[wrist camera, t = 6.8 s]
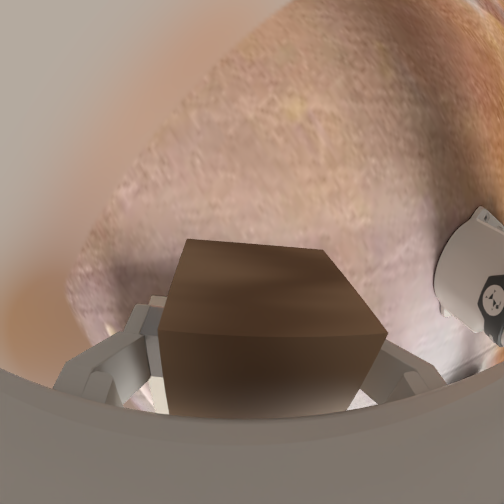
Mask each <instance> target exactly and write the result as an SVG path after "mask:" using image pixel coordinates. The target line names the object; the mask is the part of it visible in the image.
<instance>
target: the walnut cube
mask: <svg viewBox="0 0 504 504" xmlns="http://www.w3.org/2000/svg"><path fill="white" fill-rule="evenodd" d="M157 331H158V341H159V350H160V358H161V366H162V373H163V380H164V387H165V393H166V399H167V405H168V410H169V415H178V416H189V417H202V418H222V419H265V418H286V417H299V416H310V415H319V414H327V413H334V412H341V411H346V410H347V408H348V407H349V405H350V404H351V402H352V400H353V399H354V397H355V395H356V394H357V392H358V390H359V389H360V387H361V385H362V383H363V381H364V380H365V378H366V376H367V374H368V372H369V371H370V369H371V367H372V365H373V363H374V361H375V359H376V357H377V355H378V353H379V351H380V349H381V347H382V345H383V343H384V341H385V339H386V337H387V335H388V332H387V331H386V329H385V328H384V327H383V325H382V324H381V323H380V321H379V320H378V319H377V317H376V316H375V315H374V313H373V312H372V311H371V309H370V308H369V307H368V305H367V304H366V303H365V302H364V300H363V299H362V298H361V296H360V295H359V294H358V293H357V291H356V290H355V289H354V288H353V286H352V285H351V284H350V282H349V281H348V280H347V279H346V277H345V276H344V275H343V274H342V273H341V271H340V270H339V269H338V268H337V266H336V265H335V264H334V263H333V261H332V260H331V259H330V258H329V257H328V255H327V254H326V253H325V252H324V251H323V250H318V249H306V248H295V247H283V246H271V245H258V244H246V243H234V242H221V241H208V240H195V239H187V240H186V243H185V246H184V249H183V252H182V254H181V257H180V260H179V263H178V266H177V269H176V272H175V275H174V278H173V281H172V284H171V287H170V290H169V293H168V296H167V300H166V303H165V306H164V309H163V312H162V316H161V319H160V322H159V326H158V329H157Z"/></svg>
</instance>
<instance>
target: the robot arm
mask: <svg viewBox="0 0 504 504" xmlns="http://www.w3.org/2000/svg"><path fill="white" fill-rule="evenodd" d="M434 290H435V294H436V297H437V299H438V300H439V302H440V304H441V315H442V316H444V317H445V318H448V317H450V316H454V317H455V318H456V319H458V320H459V321H460V322H461V323H463V324H464V325H465V326H466V327H467V328H469V329H470V330H471V331H472V332H474V333H477V332H482V331H484V332H485V333H486V334H487V335H488V336H489V337H490V339H491V340H492V341H493V342H494V343H496V344H497V345H498V346H499V347H504V226H503V225H502V224H501V223H500V222H499V221H498V220H497V219H496V218H495V217H494V216H493V215H492V214H491V213H490V212H489V211H488V210H487V209H485V208H484V207H482V206H479V207H478V208H477V209H476V211H475V212H474V214H473V215H472V217H471V218H470V219H469V220H468V221H467V222H466V223H464V224H463V225H462V226H460V227H459V228H458V229H457V230H456V231H455V233H454V234H453V235H452V236H451V238H450V239H449V241H448V243H447V244H446V246H445V248H444V250H443V252H442V254H441V257H440V259H439V262H438V265H437V268H436V273H435V279H434ZM163 309H164V306H156V305H148V304H139V303H137V304H136V305H135V306H134V309H133V311H132V313H131V315H130V317H129V320H128V322H127V324H126V326H125V329H124V331H123V332H117V333H116V334H114V335H112V336H110V337H109V338H107V339H105V340H103V341H102V342H100V343H98V344H97V345H95V346H93V347H91V348H90V349H88V350H86V351H84V352H83V353H81V354H80V355H78V356H76V357H74V358H72V359H71V360H69V361H67V362H66V363H65V365H64V367H63V369H62V371H61V373H60V375H59V376H58V379H57V380H56V383H55V384H54V386H53V388H52V389H51V388H48V387H45V386H43V385H40V384H37V383H35V382H32V381H29V380H27V379H24V378H22V377H19V376H17V375H14V374H12V373H10V372H7V371H5V370H3V369H1V368H0V504H504V361H503V362H501V363H499V364H497V365H495V366H493V367H491V368H489V369H486V370H484V371H482V372H480V373H477V374H475V375H472V376H470V377H467V378H465V379H462V380H460V381H457V382H455V383H452V384H449V385H447V384H446V382H445V381H444V379H443V378H442V377H441V375H440V374H439V373H438V371H437V370H436V368H435V367H434V366H433V365H431V364H430V363H428V362H426V361H424V360H422V359H421V358H419V357H417V356H415V355H413V354H412V353H410V352H408V351H406V350H404V349H403V348H401V347H399V346H397V345H395V344H394V343H392V342H390V341H388V340H386V339H385V341H384V343H383V345H382V347H381V349H380V351H379V353H378V355H377V357H376V359H375V361H374V363H373V365H372V367H371V369H370V371H369V372H368V374H367V376H366V378H365V380H364V381H363V383H362V385H361V387H360V389H361V390H362V391H363V392H364V393H366V394H367V395H368V396H369V397H370V398H371V399H373V400H374V401H375V402H376V403H377V404H379V405H374V406H369V407H364V408H359V409H353V410H347V411H341V412H334V413H327V414H319V415H310V416H299V417H286V418H265V419H222V418H202V417H189V416H178V415H169V414H161V413H153V412H147V411H140V410H135V409H129V408H124V407H123V404H124V403H125V402H126V401H127V400H128V399H129V398H130V397H131V396H132V395H133V394H134V393H135V392H136V391H138V390H139V389H140V388H141V387H142V386H143V385H144V384H145V383H146V382H147V381H148V380H149V379H150V378H151V376H153V377H163V373H162V366H161V358H160V350H159V341H158V331H157V329H158V326H159V322H160V319H161V316H162V312H163Z"/></svg>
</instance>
